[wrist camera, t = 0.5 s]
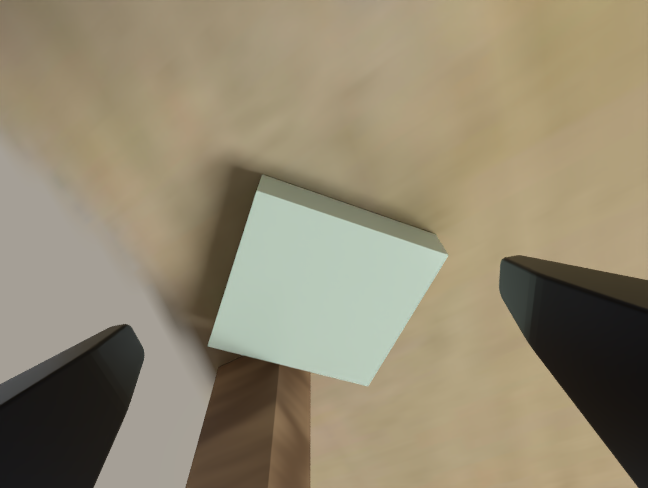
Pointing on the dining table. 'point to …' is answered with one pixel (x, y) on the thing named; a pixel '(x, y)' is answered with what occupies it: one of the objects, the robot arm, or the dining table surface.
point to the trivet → (322, 283)
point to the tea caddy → (255, 428)
